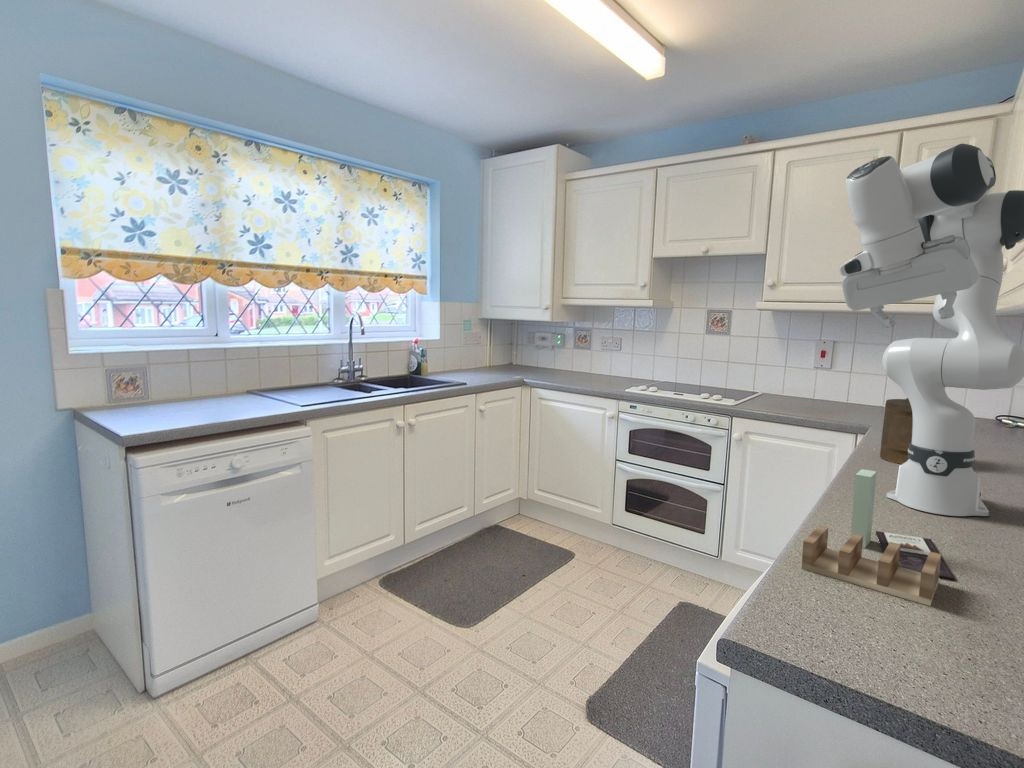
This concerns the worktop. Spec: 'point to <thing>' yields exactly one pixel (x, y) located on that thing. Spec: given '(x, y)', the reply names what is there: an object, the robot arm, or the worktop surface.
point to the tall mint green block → (863, 504)
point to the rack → (871, 567)
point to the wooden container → (896, 430)
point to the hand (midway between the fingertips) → (917, 322)
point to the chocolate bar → (914, 552)
